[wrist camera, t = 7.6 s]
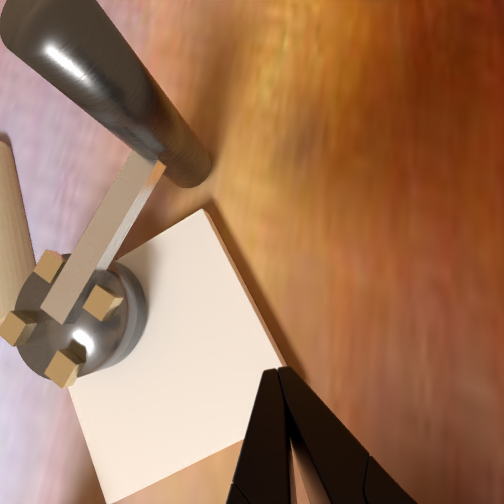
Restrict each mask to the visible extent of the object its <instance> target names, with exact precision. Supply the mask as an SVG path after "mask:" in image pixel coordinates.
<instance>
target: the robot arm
mask: <svg viewBox="0 0 504 504" xmlns="http://www.w3.org/2000/svg"><path fill="white" fill-rule="evenodd" d="M290 440H291V441H290ZM291 444H292V448H293V452H294V455H295V458H296V461H297V465H298V468H299V471H300V474H301V477H302V480H303V483H304V486H305V489H306V492H307V495H308V498H309V502H310V504H418V503H417V502H416V501H415V500H414V499H413V498H412V497H410V496H409V495H408V494H407V493H406V492H405V491H404V490H403V489H402V488H401V487H400V486H399V485H398V484H397V483H396V482H395V480H394V479H393V478H392V477H391V476H390V475H389V474H388V473H387V472H386V471H385V470H384V469H383V468H382V467H381V466H380V464H379V463H378V462H377V461H376V460H375V459H374V458H373V457H372V456H370V454H369V452H368V451H367V450H366V449H365V448H364V447H363V446H362V445H361V443H360V442H359V441H358V440H357V439H356V438H355V437H354V436H353V435H352V433H351V432H350V431H349V430H348V429H347V428H346V427H345V426H344V425H343V423H342V422H341V421H340V420H339V419H338V418H337V417H336V416H335V415H334V413H333V412H332V411H331V410H330V409H329V408H328V407H327V406H326V405H325V403H324V402H323V401H322V400H321V399H320V398H319V397H318V396H317V395H316V393H315V392H314V391H313V390H312V389H311V388H310V387H309V386H308V384H307V383H306V382H305V381H304V380H303V379H302V378H301V377H300V376H299V374H298V373H297V372H296V371H295V370H294V369H293V368H292V367H291V366H289V365H288V366H283V367H278V369H276V368H272V369H267V370H264V371H263V373H262V376H261V380H260V383H259V387H258V390H257V394H256V398H255V401H254V405H253V408H252V412H251V415H250V419H249V423H248V426H247V430H246V433H245V437H244V441H243V444H242V448H241V451H240V455H239V458H238V462H237V466H236V469H235V473H234V476H233V480H232V482H233V483H232V484H231V487H230V490H229V494H228V497H227V501H226V504H297V498H296V487H295V477H294V466H293V456H292V448H291Z"/></svg>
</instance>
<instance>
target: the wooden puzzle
mask: <svg viewBox="0 0 504 504" xmlns="http://www.w3.org/2000/svg"><path fill="white" fill-rule="evenodd" d="M35 267H36V264H35V259H34V254H33V249H32V244H31V240H30V235H29V230H28V225H27V220H26V215H25V211H24V206H23V201H22V196H21V191H20V187H19V182H18V177H17V172H16V168H15V163H14V158H13V154H12V150H11V148H10V146H8V145H7V144H6V143H4V142H3V141H1V140H0V326H1V325H2V323H3V321H4V320H5V318H6V316H7V314H8V313H9V311H14V308H15V304H16V301H17V297H18V295H19V292H20V290H21V288H22V286H23V284H24V283H25V281H26V280H27V278H28V277H29V276H30V275H31V273H32V272H33V270H34V269H35Z"/></svg>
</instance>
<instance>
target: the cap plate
mask: <svg viewBox="0 0 504 504" xmlns="http://www.w3.org/2000/svg"><path fill="white" fill-rule="evenodd" d="M115 261H116V262H118V263H120V264H122V265H124V266H126V267H127V268H128V269H129V270H131V272H132V273H133V274H134V275H135V276H136V277H137V279H138V280H139V282H140V284H141V286H142V289H143V291H144V295H145V299H146V321H145V326H144V330H143V332H142V335H141V337H140V339H139V341H138V343H137V345H136V346H135V348H134V349H133V350H132V352H131V353H130V354H129V355H128V356H127V357H126V358H125V359H124V360H122V361H121V362H119V363H118V364H116V365H114V366H112V367H109V368H106V369H103V370H100V371H97V372H94V373H91V374H88V375H85V376H82V377H79V378H77V379H76V381H75V383H74V384H73V385H72V386H69V387H68V389H69V392H70V395H71V398H72V401H73V404H74V407H75V410H76V413H77V416H78V419H79V422H80V425H81V428H82V431H83V434H84V437H85V440H86V443H87V446H88V449H89V452H90V455H91V458H92V461H93V464H94V467H95V470H96V473H97V477H98V480H99V483H100V486H101V489H102V492H103V495H104V498H105V501H106V504H112V503H114V502H116V501H118V500H120V499H122V498H124V497H126V496H128V495H130V494H132V493H134V492H136V491H138V490H140V489H142V488H144V487H147V486H149V485H151V484H153V483H155V482H157V481H159V480H161V479H163V478H165V477H167V476H169V475H171V474H173V473H175V472H177V471H179V470H181V469H183V468H185V467H187V466H189V465H191V464H193V463H195V462H197V461H199V460H201V459H203V458H205V457H207V456H209V455H211V454H214V453H216V452H218V451H220V450H222V449H224V448H226V447H228V446H230V445H232V444H234V443H236V442H238V441H240V440H242V439H244V437H245V433H246V430H247V426H248V423H249V419H250V415H251V412H252V408H253V405H254V401H255V398H256V394H257V390H258V387H259V383H260V380H261V376H262V373H263V371H264V370H267V369H272V368H276V369H278V367H283V366H287V364H286V363H285V361H284V359H283V357H282V355H281V353H280V351H279V349H278V347H277V345H276V343H275V341H274V339H273V337H272V335H271V333H270V331H269V330H268V328H267V326H266V324H265V322H264V320H263V318H262V316H261V314H260V312H259V310H258V308H257V306H256V304H255V302H254V300H253V298H252V296H251V295H250V293H249V291H248V289H247V287H246V285H245V283H244V281H243V279H242V277H241V275H240V273H239V271H238V269H237V267H236V265H235V263H234V261H233V260H232V258H231V256H230V254H229V252H228V250H227V248H226V246H225V244H224V242H223V240H222V238H221V236H220V234H219V232H218V230H217V228H216V227H215V225H214V223H213V221H212V219H211V217H210V215H209V214H208V213H207V212H206V211H205V210H203V209H200V210H198V211H197V212H195V213H193V214H192V215H190V216H189V217H187V218H185V219H184V220H182V221H180V222H179V223H177V224H175V225H174V226H172V227H170V228H169V229H167V230H165V231H164V232H162V233H160V234H159V235H157V236H155V237H154V238H152V239H150V240H149V241H147V242H145V243H144V244H142V245H140V246H139V247H137V248H135V249H134V250H132V251H130V252H129V253H127V254H125V255H124V256H122V257H120V258H119V259H117V260H115Z"/></svg>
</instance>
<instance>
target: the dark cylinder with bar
mask: <svg viewBox="0 0 504 504" xmlns="http://www.w3.org/2000/svg"><path fill="white" fill-rule="evenodd" d="M0 35H1V38H2V41H3V43H4V45H5V46H6V47H7V48H8V49H9V50H10V51H11V52H12V53H14V54H15V55H16V56H17V57H19V58H20V59H21V60H22V61H24V62H25V63H26V64H27V65H29V66H30V67H31V68H32V69H34V70H35V71H36V72H37V73H38V74H40V75H41V76H42V77H43V78H45V79H46V80H47V81H48V82H50V83H51V84H52V85H53V86H55V87H56V88H57V89H58V90H59V91H61V92H62V93H63V94H64V95H66V96H67V97H68V98H69V99H71V100H72V101H73V102H74V103H76V104H77V105H78V106H79V107H81V108H82V109H83V110H84V111H85V112H87V113H88V114H89V115H90V116H92V117H93V118H94V119H95V120H97V121H98V122H99V123H100V124H102V125H103V126H104V127H105V128H106V129H108V130H109V131H110V132H111V133H113V134H114V135H115V136H116V137H118V138H119V139H120V140H121V141H123V142H124V143H125V144H126V145H128V146H129V147H130V148H131V149H132V152H131V153H130V155H129V157H128V158H127V160H126V162H125V164H124V165H123V167H122V169H121V170H120V172H119V174H118V175H117V177H116V179H115V181H114V182H113V184H112V186H111V187H110V189H109V191H108V193H107V194H106V196H105V198H104V199H103V201H102V203H101V204H100V206H99V208H98V210H97V211H96V213H95V215H94V216H93V218H92V220H91V222H90V223H89V225H88V227H87V228H86V230H85V232H84V233H83V235H82V237H81V239H80V240H79V242H78V244H77V245H76V247H75V249H74V251H73V252H72V254H63V255H61V254H59V253H58V252H57V251H52V250H45V252H44V253H43V255H42V257H41V259H40V260H39V262H38V264H37V265H36V267H35V269H34V270H33V272H32V273H31V275H30V276H29V277H28V278H27V280H26V281H25V283H24V284H23V286H22V288H21V290H20V292H19V295H18V297H17V301H16V304H15V308H14V311H9V313H8V314H7V316H6V318H5V320H4V321H3V323H2V325H1V326H0V336H1V337H2V338H3V339H5V340H6V341H7V342H8V343H9V344H10V345H12V346H17V349H18V351H19V353H20V355H21V357H22V359H23V360H24V362H25V363H26V364H27V365H28V366H29V367H30V368H31V369H32V370H33V371H34V372H35V373H37V374H38V375H40V376H42V377H44V378H47V379H50V380H52V381H54V382H55V383H56V384H57V385H58V386H59V387H61V388H62V389H64V388H67V387H69V386H72V385H73V384H74V383H75V381H76V379H77V378H79V377H82V376H85V375H88V374H91V373H94V372H97V371H100V370H103V369H106V368H109V367H112V366H114V365H116V364H118V363H119V362H121V361H122V360H124V359H125V358H126V357H127V356H128V355H129V354H130V353H131V352H132V350H133V349H134V348H135V346H136V345H137V343H138V341H139V339H140V337H141V335H142V332H143V330H144V326H145V321H146V299H145V295H144V291H143V289H142V286H141V284H140V282H139V280H138V279H137V277H136V276H135V275H134V274H133V273H132V272H131V270H129V269H128V268H127V267H126V266H124V265H122V264H120V263H118V262H116V261H112V259H113V258H114V256H115V254H116V252H117V251H118V249H119V247H120V246H121V244H122V242H123V240H124V239H125V237H126V235H127V233H128V232H129V230H130V228H131V227H132V225H133V223H134V221H135V220H136V218H137V216H138V215H139V213H140V211H141V209H142V208H143V206H144V204H145V203H146V201H147V199H148V197H149V196H150V194H151V192H152V191H153V189H154V187H155V185H156V184H157V182H158V180H159V178H160V177H161V175H162V174H163V175H165V176H166V177H167V178H168V179H170V180H171V181H172V182H173V183H175V184H176V185H177V186H179V187H182V188H192V187H195V186H198V185H199V184H201V183H202V182H203V181H204V180H205V179H206V178H207V177H208V175H209V173H210V171H211V166H212V161H211V156H210V154H209V152H208V151H207V150H206V148H205V147H204V146H203V144H202V143H201V141H200V140H199V139H198V137H197V136H196V135H195V133H194V132H193V131H192V129H191V128H190V127H189V125H188V124H187V123H186V121H185V120H184V118H183V117H182V116H181V114H180V113H179V112H178V110H177V109H176V108H175V106H174V105H173V104H172V102H171V101H170V100H169V98H168V97H167V95H166V94H165V93H164V91H163V90H162V89H161V87H160V86H159V85H158V83H157V82H156V81H155V79H154V78H153V77H152V75H151V74H150V73H149V71H148V70H147V68H146V67H145V66H144V64H143V63H142V62H141V60H140V59H139V58H138V56H137V55H136V54H135V52H134V51H133V50H132V48H131V47H130V45H129V44H128V43H127V41H126V40H125V39H124V37H123V36H122V35H121V33H120V32H119V31H118V29H117V28H116V27H115V25H114V24H113V22H112V21H111V20H110V18H109V17H108V16H107V14H106V13H105V12H104V10H103V9H102V8H101V6H100V5H99V4H98V2H97V1H96V0H7V1H6V3H5V5H4V7H3V10H2V13H1V17H0Z"/></svg>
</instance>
